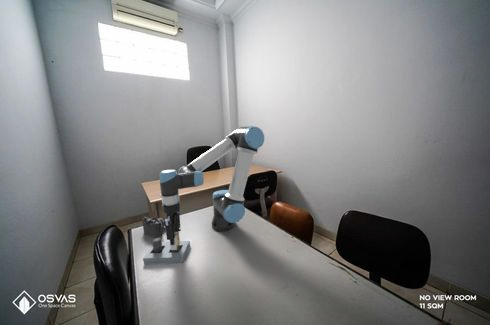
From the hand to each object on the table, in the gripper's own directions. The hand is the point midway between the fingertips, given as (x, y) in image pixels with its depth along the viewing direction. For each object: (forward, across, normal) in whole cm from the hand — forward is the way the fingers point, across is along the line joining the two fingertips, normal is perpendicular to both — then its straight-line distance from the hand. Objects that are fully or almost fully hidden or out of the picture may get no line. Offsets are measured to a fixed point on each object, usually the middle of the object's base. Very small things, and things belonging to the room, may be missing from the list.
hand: (175, 246), depth 86 cm
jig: (+4, 0, -4) cm, 6 cm away
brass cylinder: (+2, 0, 0) cm, 2 cm away
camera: (+5, -21, -19) cm, 29 cm away
